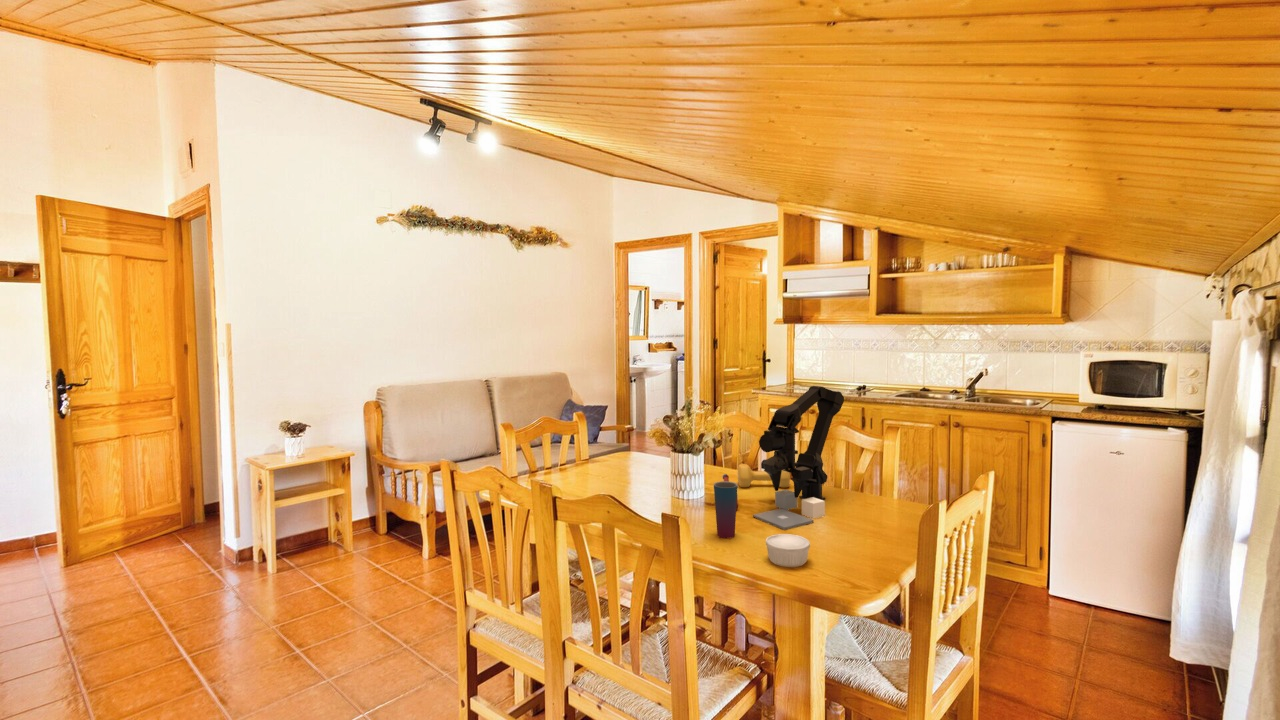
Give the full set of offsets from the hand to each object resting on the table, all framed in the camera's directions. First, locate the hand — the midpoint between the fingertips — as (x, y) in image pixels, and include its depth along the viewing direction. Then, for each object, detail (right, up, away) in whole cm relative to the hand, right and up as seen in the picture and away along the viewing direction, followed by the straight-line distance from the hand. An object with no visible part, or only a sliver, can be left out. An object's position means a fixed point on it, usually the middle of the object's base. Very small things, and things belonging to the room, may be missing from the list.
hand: (786, 494), depth 202 cm
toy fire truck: (-19, -5, +2) cm, 20 cm away
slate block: (0, -4, 0) cm, 4 cm away
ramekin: (-10, -8, -44) cm, 46 cm away
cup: (-23, -7, -25) cm, 35 cm away
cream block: (+6, -5, -9) cm, 12 cm away
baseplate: (-4, -5, -13) cm, 14 cm away
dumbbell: (-2, -3, +26) cm, 26 cm away
